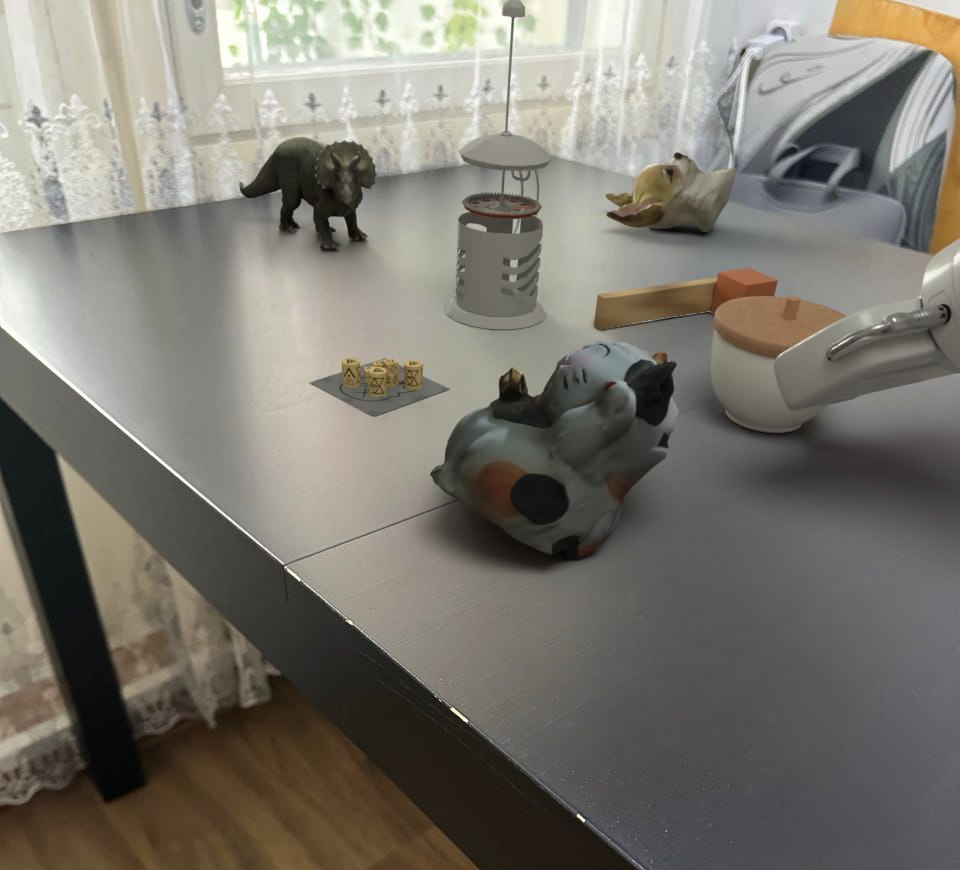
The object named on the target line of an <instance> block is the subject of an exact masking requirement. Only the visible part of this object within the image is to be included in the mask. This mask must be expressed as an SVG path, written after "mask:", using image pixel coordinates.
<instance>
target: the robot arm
mask: <svg viewBox="0 0 960 870" xmlns="http://www.w3.org/2000/svg"><path fill="white" fill-rule="evenodd" d="M846 316H847V317H844V318H842V319H840V320H838V321H836V322H835V323H833V324H831V325H829V326H827V327H825V328H824V329H822V330H820V331H818V332H816V333H815V334H813V335H811V336H809V337H808V338H806V339H804V340H802V341H801V342H799V343H797V344H796V345H794V346H792V347H791V348H789V349H787V350H786V351H784V352H782V353H781V354H780V355H779V356H778V357H777V358H776V360H775V362H774V373H775V376H776V380H777V383H778V387H779V389H780V392H781V394H782V397H783V399H784V402H785V404H786V406H787V407H788V408H789V409H790V410H800V409H804V408H808V407H812V406H817V405H823V406H826V405H828V406H830V405H834V404H838V403H843V402H847V401H851V400H852V401H853V400H855V399H857V398H859V397H861V396H864V395H868V394H873V393H878V392H882V391H886V390H891V389H895V388H899V387H903V386H908V385H913V384H916V383H920V382H926V381H931V380H934V379H939V378H943V377H947V376H952V375H955V374H959V375H960V237H959V238H958V239H956V240H955V241H953V242H952V243H950V244H948V245H947V246H945V247H944V248H942V249H941V250H939V251H938V252H936V253H935V254H934V256H932V258H931V259H930V261H929V262H928V264H927V265H926V268H925V270H924V274H923V277H922V282H921V288H920V290H919V292H918V293H917V296H916V298H913V299H907V300H902V301H897V302H890V303H885V304H879V305H874V306H871V307H867V308H864V309H861V310H858V311H855V312H854V313H851V314H849V315H846Z"/></svg>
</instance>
